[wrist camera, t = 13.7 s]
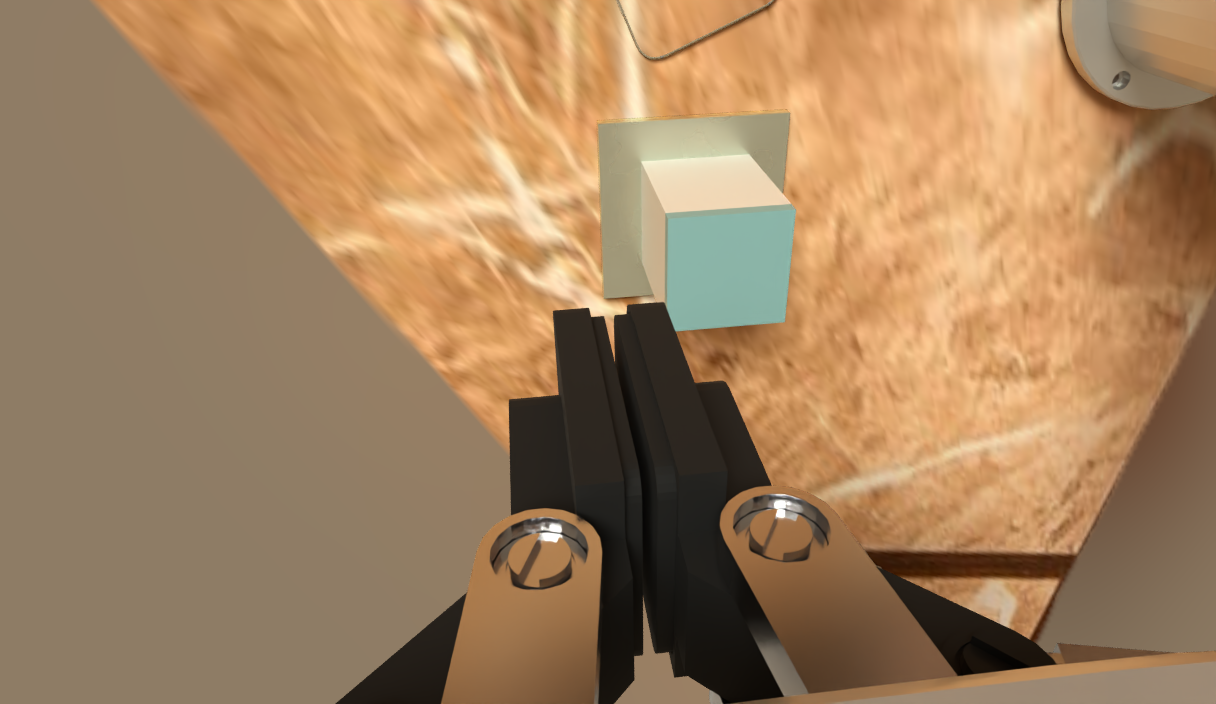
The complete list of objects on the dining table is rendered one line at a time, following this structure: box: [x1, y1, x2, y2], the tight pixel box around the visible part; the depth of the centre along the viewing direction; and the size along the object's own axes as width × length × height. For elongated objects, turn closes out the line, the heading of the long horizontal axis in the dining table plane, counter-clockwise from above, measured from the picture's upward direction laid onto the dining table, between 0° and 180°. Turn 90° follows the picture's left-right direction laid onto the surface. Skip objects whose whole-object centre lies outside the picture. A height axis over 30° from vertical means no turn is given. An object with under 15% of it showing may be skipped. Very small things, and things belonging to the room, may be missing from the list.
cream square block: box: [597, 109, 790, 299], centre depth 37 cm, size 9×9×6 cm
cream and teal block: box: [641, 154, 796, 331], centre depth 37 cm, size 5×5×7 cm
